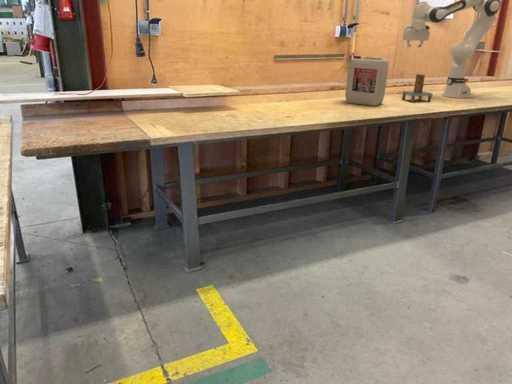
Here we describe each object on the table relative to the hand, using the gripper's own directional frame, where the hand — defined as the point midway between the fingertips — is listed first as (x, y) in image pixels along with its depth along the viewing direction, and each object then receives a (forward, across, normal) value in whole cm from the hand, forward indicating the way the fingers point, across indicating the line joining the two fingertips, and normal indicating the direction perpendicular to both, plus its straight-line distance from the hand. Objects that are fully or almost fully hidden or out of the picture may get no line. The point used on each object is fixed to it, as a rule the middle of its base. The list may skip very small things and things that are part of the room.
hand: (414, 47), depth 302 cm
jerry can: (+35, -50, -22) cm, 65 cm away
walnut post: (+29, -6, -19) cm, 35 cm away
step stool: (+35, -6, -19) cm, 41 cm away
